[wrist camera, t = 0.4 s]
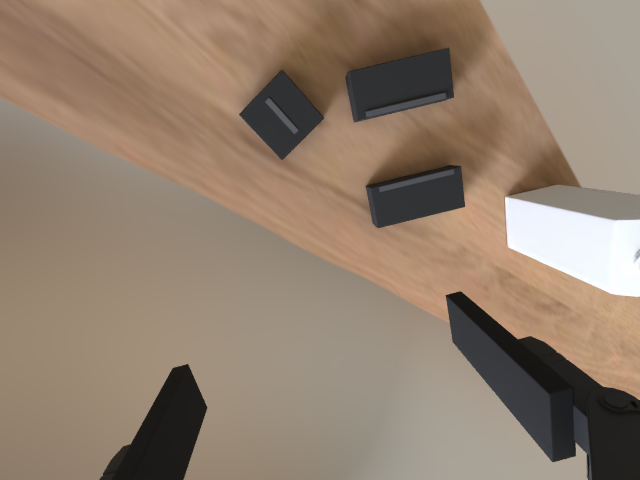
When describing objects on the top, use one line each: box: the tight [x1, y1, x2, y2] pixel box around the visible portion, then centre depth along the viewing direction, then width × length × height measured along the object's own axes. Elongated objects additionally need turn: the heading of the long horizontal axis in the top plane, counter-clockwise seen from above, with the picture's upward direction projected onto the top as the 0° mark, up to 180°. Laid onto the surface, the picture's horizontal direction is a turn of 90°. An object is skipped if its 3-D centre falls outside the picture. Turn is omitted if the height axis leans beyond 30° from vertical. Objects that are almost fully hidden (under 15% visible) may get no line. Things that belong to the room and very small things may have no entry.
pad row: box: [345, 48, 465, 228], centre depth 37 cm, size 18×11×3 cm, turn 13°
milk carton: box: [505, 185, 640, 297], centre depth 33 cm, size 7×7×19 cm
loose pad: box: [239, 70, 324, 160], centre depth 35 cm, size 6×6×3 cm
